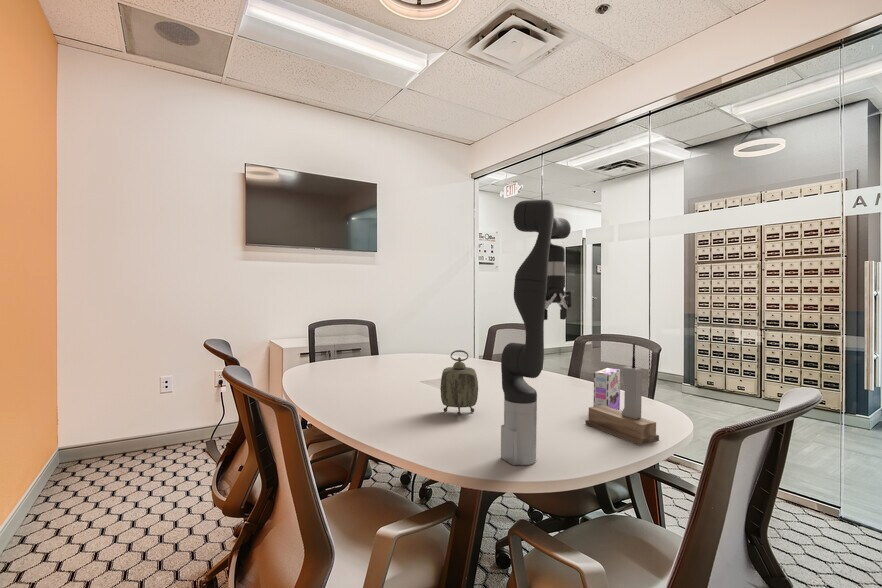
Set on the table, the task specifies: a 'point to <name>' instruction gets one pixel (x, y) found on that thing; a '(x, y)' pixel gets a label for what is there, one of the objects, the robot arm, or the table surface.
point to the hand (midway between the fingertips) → (553, 319)
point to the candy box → (607, 388)
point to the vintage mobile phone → (632, 390)
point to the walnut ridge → (622, 425)
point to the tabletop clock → (459, 385)
